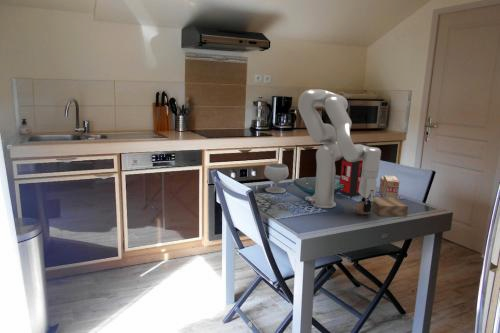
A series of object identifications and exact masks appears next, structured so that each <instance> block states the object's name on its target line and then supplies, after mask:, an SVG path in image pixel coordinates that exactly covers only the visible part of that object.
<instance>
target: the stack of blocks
mask: <svg viewBox="0 0 500 333" xmlns="http://www.w3.org/2000/svg"><path fill="white" fill-rule="evenodd" d="M379 181H380V182H379V194H380V196H381V197H396V198H397V199H398V195H399V189H400V188H399V187H400V183H401V182H400V180H399V179H398V178H397V177H396V176H395V175H386V174H385V175H383V176H380V179H379Z"/></svg>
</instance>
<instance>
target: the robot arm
mask: <svg viewBox="0 0 500 333" xmlns="http://www.w3.org/2000/svg"><path fill="white" fill-rule="evenodd" d="M348 102H349V101H348V100H347V98H346V97H344V96H342V95H340V94H337V93H334V92H331V91H328V90H326V89H322V88H321V89H319V88H318V89H314V88H313V89H311V88H310V89H306V90H305V91H303V92H302V93H301V94H300V96H299V98H298V102H297V108H298V112H299V114H300V117H301V118H302V120H303V122H304V125H305V127H306V129H307V133H308V134H309V136H310V139H311V140H312V142H313V143H315V144H323V145H320V146H319V147H318V148H317V150H316V152H315V160H316V173H315V174H316V175H315V190H314V193H313V194H312V195H311V196H305V198H304V199H305V201H308V202H311V206H314V207H317V208H321V209H331V208H332V209H333V208H335V207H336V206H337V202H336V201H334V199H335V196H334V195H335V185H336V175H337V174H336V173H337V171H336V169H337V168H336V162H337V161H340V160H342V159H344V158H345V159H346V160H347V161H349V162H355V161H358V160H363V165H362V173H361V180H360V185H359V194H360V195H359V196H360V201H365V204H364V212H369V213H371V210H372V209H371V205H372V202H373V201H374V198H375V197H376V192H377V179H378V178H379V170H380V163H381V156H382V150H381V149H380V148H379V147H376V146H375V147H374V146H367V145H364V144H360V143H358V144H354V142H353V139H352V138H351V128H352V123H353V122H352V119H351V118H350V116H349V114H348V112H347V109H348V107H349V103H348ZM316 107H323V108H324V110H325V113H326V114H327V116H328V118H329V119H330V120H329V121H330V122H331V124H330V123H324V122H323V120H322V117H321V115H320V113H319V112H318V111H317V109H316ZM369 197H370V198H369Z"/></svg>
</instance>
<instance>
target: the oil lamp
mask: <svg viewBox="0 0 500 333" xmlns="http://www.w3.org/2000/svg"><path fill="white" fill-rule="evenodd" d="M372 203H374V201H373V202H372ZM364 204H365V201H361V200H359V201H358V203H357V205H356V208H355V210H356V212H357V214H359V215H366V214H369V213H370V212H364Z"/></svg>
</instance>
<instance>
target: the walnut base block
mask: <svg viewBox="0 0 500 333" xmlns="http://www.w3.org/2000/svg"><path fill="white" fill-rule="evenodd" d="M368 198H370V197H368ZM371 210H372V211H373V212H374V213H375V214H376V215H377V216H378V217H404V216H403V215H407V216H408V211H409V205H407V204H406V203H404V202H403V201H402V200H400V199H399V198H398V197H397V198H396V197H382V196H381V197H379V196H378V197H377V196H375V198H374V203H372V205H371Z"/></svg>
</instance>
